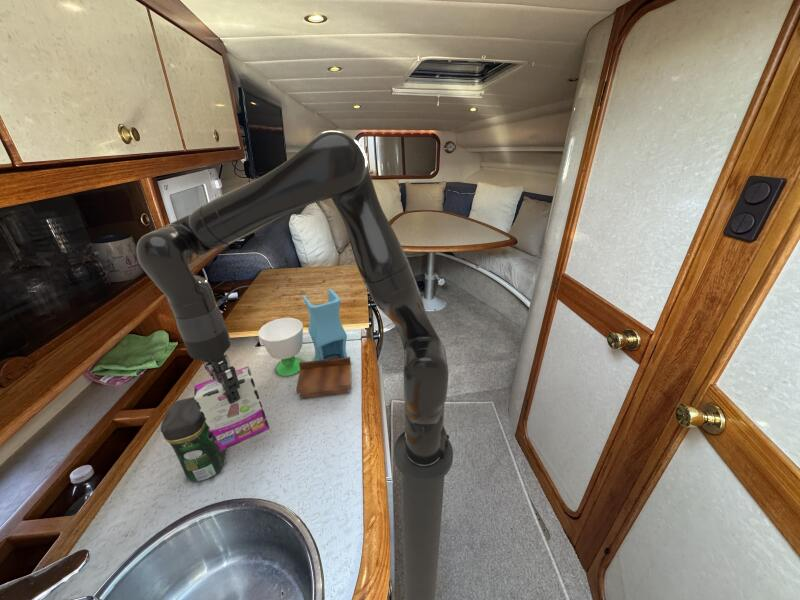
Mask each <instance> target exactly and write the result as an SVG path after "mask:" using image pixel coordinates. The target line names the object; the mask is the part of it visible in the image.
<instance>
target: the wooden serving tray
mask: <svg viewBox="0 0 800 600" xmlns="http://www.w3.org/2000/svg"><path fill="white" fill-rule="evenodd" d="M299 366H300V371H299V374H298V378H297V383H296V388H295V393H296V395H301V399H309V398H318V397H327V396H334V395H344V394H349V393H350V392H349V391H350V390H349V389H352V363H351V357H350V356H347V358H342V357H339V358H338V357H337V358H327V359H324V360H317V361H315V360H310V361H309V360H307V361H302V362H299Z"/></svg>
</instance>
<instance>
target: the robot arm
mask: <svg viewBox="0 0 800 600" xmlns="http://www.w3.org/2000/svg"><path fill="white" fill-rule="evenodd" d="M330 199H331V201H332V202H333V204H334V206H335V208H336V210H337V211H338V213H339V215H340V216H341V217H340V218H341V219H342V221H343V224H344V226H345V228H346V233H347V235H348V239H349V243H350V246H351V250H352V254H353V257H354V261H355V264H356V267H357V270H358V272H359V273H358V274H359V275H360V277H361V279H362V281H363V284H364V285H365V287H366V290H367V292H368V294H369V297H371V299H372V301H373V303H374V304H375V305H376V307H377V308H378V309H379V310H380V311H381V312H382V313H383V314H384V315H385V316H386V317H387V318H388V319H390V321H391V322H392V323H393V324H394V327H395V328H396V331H397V333H398V336H399V338H400V341H401V344H402V347H403V354H404V355H403V400H404V432H405V436H404V439H405V453H406V456H407V458H408V460H409V461H410V462H411V463H412V464H414V465H416V466H418V467H430V466H433V465H435V464H436V463H437V462H438V461H439V460H440V459H443V458H444V447H448V440H450V435H449V434H447V431H446V429H445V425H444V419H445V403H446V401H447V398H448V397H447V396H448V388H449V365H448V357H447V352H446V348H445V345H444V343H443V342H442V340H441V338H440V337H439V334H438V333H437V331H436V329H435V327H434V326H433V323H432V322H431V320H430V318H429V316H428V314H427V311H426V308H425V305H424V300H423V298H422V294H421V291H420V289H419V288H420V287H419V286H418V283H417V280H416V277H415V274H414V271H413V270H412V267H411V265H410V262H409V260H408V257H407V255H406V253H405V251H404V249H403V246H402V244H401V242H400V240H399V238H398V236H397V235H396V233H395V231H394V229H393V227H392V225H391V223H390V221H389V220H388V218H387V216H386V215H385V212H384V210H383V208H382V205H381V204H380V200H379V197H378V195H377V191H376V189H375V185H374V182H373V180H372V175H371V171H370V167H369V164H368V159H367V155H366V152H365V150H364V148H363V147H362V145H361V144H360V142H359V141H358V140H357V139H356V138H355V137H353V136H352V135H350V134H349V133H346V132H344V131H340V130H336V129H335V130H333V129H332V130H326V131H322V132H320V133H318V134H317V135H316V136H314V137H313V138H312V139H311V141H309V142H308V143H307V144H306V145H305V146H303V147H302V148H300V150H298V151H296V153H295V154H294V155H292V156H291V157H290V158H288V159H287V160H286V161H285V162H283V163H282V164H280V165H279V166H276V168H274V169H273V170H271V171H269V172H267V173H266V174H264V175H262V176H260V177H258V178H256V179H254V180H252V181H250V182H248V183H245V184H244V185H241V186H239V187H236V188H235V189H232V190H230V191H228V192H226V193H224V194H222V195H220V196H218V197H216V198H214V199H212V200H209V202H206V203H204V204H203V205H201V206H199V207H197V208H196V209H194V210H193V211H192V212H191V213H190V214H188V215H185V216H183V217H181V218H179V219H176V220H174V221H172V222H170V223H168V224H165V225H163V226H161V227H159V228H157V229H154V230H152V231H150V232H148V233H146V234H143V235H142V236H141V237H140V238H139V239H138V241H137V243H136V247H135V248H136V250H135V252H136V258H137V261H138V263H139V265H140V267H141V269H142V270H143V271H144V272H145V274H146V275H147V276H148V278H149V279H150V280H151V282H152V283H154V285H155V286H156V287H157V288H158V289H159V291H160V292H161V293H162V294H163V295H164V296H165V298H166V300H167V301H166V302H167V303H168V306H169V308H170V311H171V312H172V314H173V317H174V321H175V324H176V328H177V331H178V333H179V335H180V338H181V340H182V342H183V344H184V347H185V350H186V351H187V354H188V356H189V357H190V358H191V359H193V360H197V361H201V362H202V364H203V366H204V370H205V371H207V373H208V375H209V376H210V377H212V378H211V379H215V381H216V382H218V383H220V384H221V386H222V388H223V389H222V390H223V391H224V392H225V395H226V397H227V400H228V402H229V403H230V404H233V403H235V402H236V401H238V400H239V399H240V396H239V393H238V390H237V389H238V388H240V384H239V382H238V378H237V375H236V367H234V365H231V360H230V358H229V356H228V354H225V353H226V352H227V351H228V350H229V348H230V347H231V345H232V340H231V337H230V334H229V331H228V328H227V325H226V322H225V319H224V317H223V314H222V311H221V309H220V308H219V306H218V303H217V301H216V298H215V295H214V292H213V290H212V287H211V284H210V283H209V281H208V280H207V279H206V278H205V277H203V276H200V275H194V274H193V272H192V271H191V269H190V264H191V263H193V262H194V261H196V260H197V259H199V258H201V257H203V256H204V255H206V254H207V253H209V252H211V251H213V250H216V249H221V248H222V249H223V248H224V247H227V246H229V245H231V244H233V243H235V242H237V241H239V240H241V239H244V238H245V237H247V236H249V235H252V234H253V233H255V232H256V231H258V230H260V229H262V228H264V227H265V226H267V225H269V224H271V223H273V222H275V221H276V220H279V219H280V218H281V217H283V216H285V215H288V214H289V213H290V214H291V212H294V211H297V210H298V209H300V208H304V207H307V206H309V205H312V204H316V203H318V202H319V203H320V202H322V201H326V200H330ZM219 376H220V378H218V377H219ZM404 439H403V440H404Z"/></svg>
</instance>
